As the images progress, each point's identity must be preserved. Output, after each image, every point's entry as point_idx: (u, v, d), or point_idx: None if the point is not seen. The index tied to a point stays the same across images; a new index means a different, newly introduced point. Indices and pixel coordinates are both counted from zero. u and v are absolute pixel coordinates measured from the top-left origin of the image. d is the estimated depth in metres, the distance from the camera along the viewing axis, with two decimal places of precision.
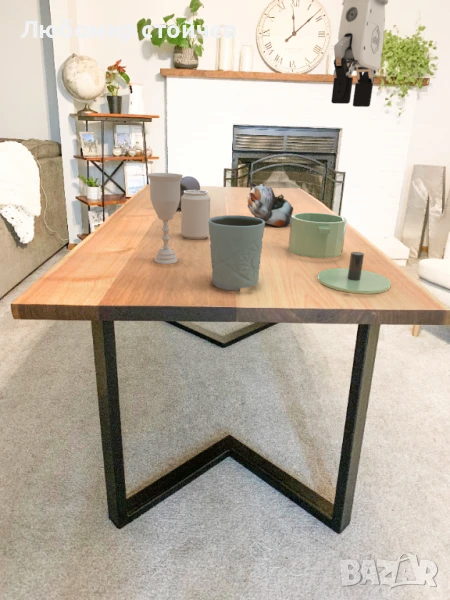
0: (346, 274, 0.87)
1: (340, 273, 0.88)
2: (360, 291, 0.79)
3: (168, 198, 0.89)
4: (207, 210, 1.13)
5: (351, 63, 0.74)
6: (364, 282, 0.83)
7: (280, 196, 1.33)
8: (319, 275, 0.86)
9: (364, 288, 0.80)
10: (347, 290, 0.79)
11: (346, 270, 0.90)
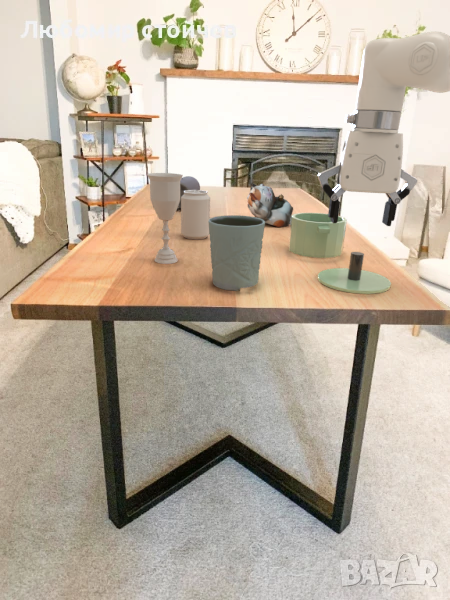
0: (346, 274, 0.87)
1: (340, 273, 0.88)
2: (360, 291, 0.79)
3: (168, 198, 0.89)
4: (207, 210, 1.13)
5: (338, 189, 0.78)
6: (364, 282, 0.83)
7: (280, 196, 1.33)
8: (319, 275, 0.86)
9: (364, 288, 0.80)
10: (347, 290, 0.79)
11: (346, 270, 0.90)
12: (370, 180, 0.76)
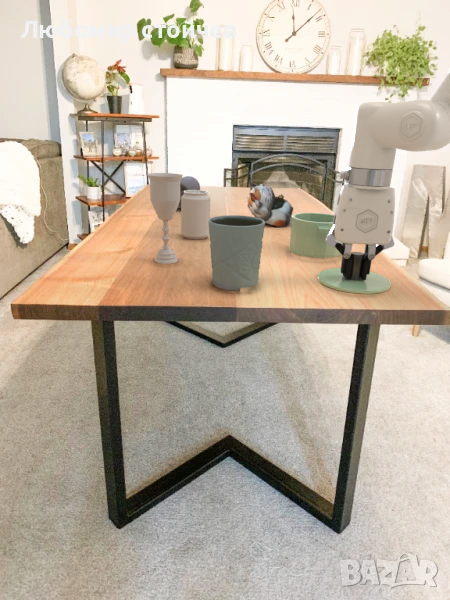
0: None
1: (340, 273, 0.88)
2: (360, 291, 0.79)
3: (168, 198, 0.89)
4: (207, 210, 1.13)
5: (345, 247, 0.82)
6: (364, 282, 0.83)
7: (280, 196, 1.33)
8: (319, 275, 0.86)
9: (364, 288, 0.80)
10: (347, 290, 0.79)
11: None
12: (364, 233, 0.79)
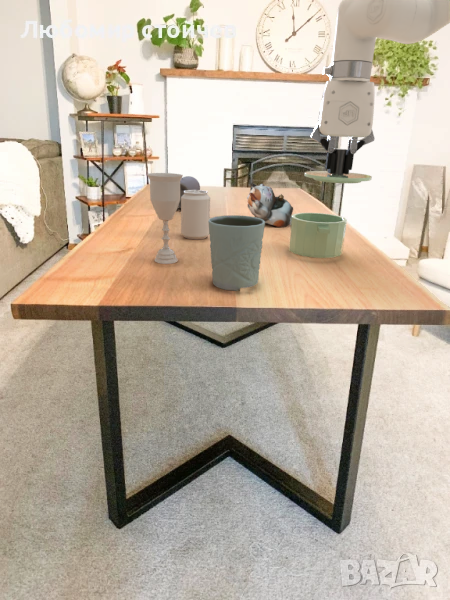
0: None
1: (325, 172, 0.94)
2: (342, 178, 0.85)
3: (168, 198, 0.89)
4: (207, 210, 1.13)
5: (329, 141, 0.88)
6: (347, 175, 0.90)
7: (280, 196, 1.33)
8: (306, 172, 0.93)
9: (346, 177, 0.87)
10: (331, 178, 0.86)
11: None
12: (346, 125, 0.86)
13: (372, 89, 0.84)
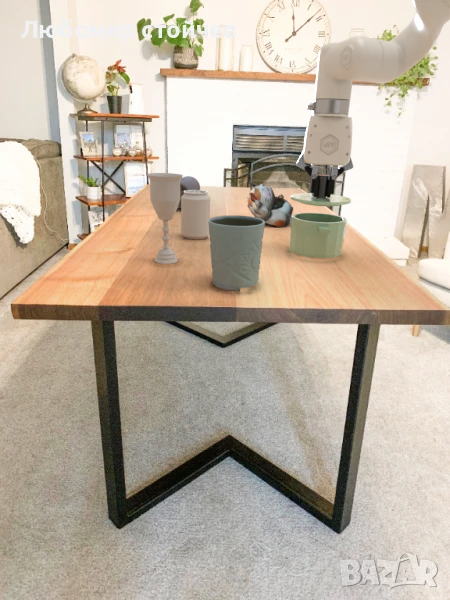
0: None
1: (310, 195, 1.04)
2: (324, 202, 0.96)
3: (168, 198, 0.89)
4: (207, 210, 1.13)
5: (312, 169, 0.98)
6: (328, 199, 1.00)
7: (280, 196, 1.33)
8: (292, 195, 1.03)
9: (327, 201, 0.97)
10: (313, 202, 0.96)
11: None
12: (327, 155, 0.96)
13: (350, 123, 0.94)
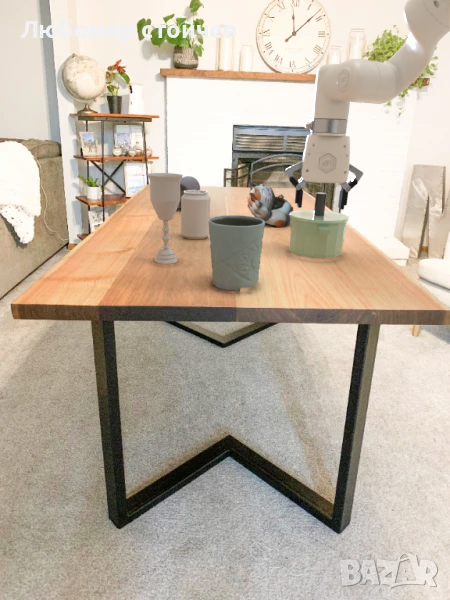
0: (313, 212, 1.05)
1: (308, 212, 1.06)
2: (322, 221, 0.97)
3: (168, 198, 0.89)
4: (207, 210, 1.13)
5: (301, 180, 0.99)
6: (327, 216, 1.01)
7: (280, 196, 1.33)
8: (290, 213, 1.04)
9: (325, 219, 0.98)
10: (311, 220, 0.97)
11: (314, 211, 1.08)
12: (325, 173, 0.97)
13: (347, 142, 0.95)
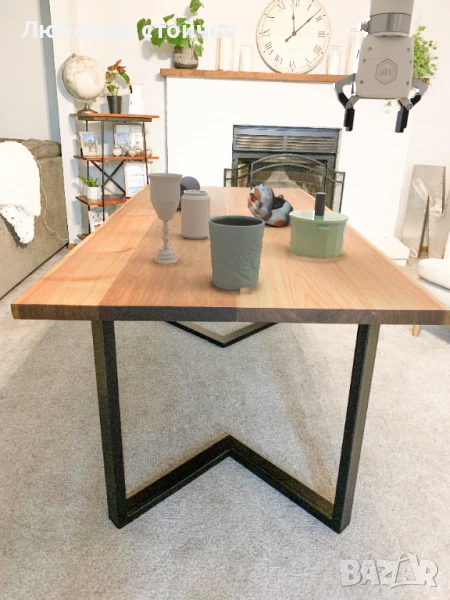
0: (313, 212, 1.05)
1: (308, 212, 1.06)
2: (322, 221, 0.97)
3: (168, 198, 0.89)
4: (207, 210, 1.13)
5: (353, 96, 0.82)
6: (327, 216, 1.01)
7: (280, 196, 1.33)
8: (290, 213, 1.04)
9: (325, 219, 0.98)
10: (311, 220, 0.97)
11: (314, 211, 1.08)
12: (383, 84, 0.80)
13: (412, 45, 0.78)
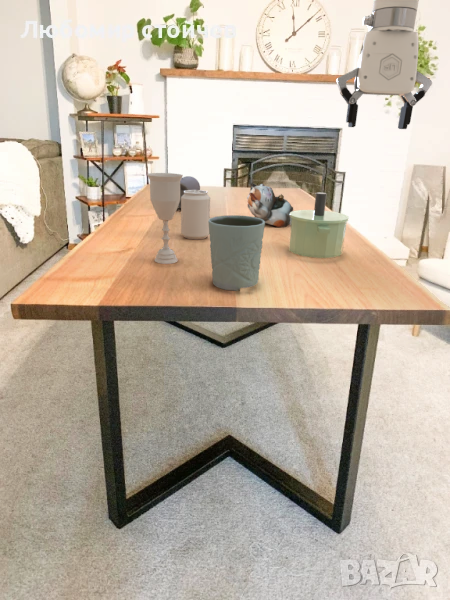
0: (313, 212, 1.05)
1: (308, 212, 1.06)
2: (322, 221, 0.97)
3: (168, 198, 0.89)
4: (207, 210, 1.13)
5: (356, 91, 0.82)
6: (327, 216, 1.01)
7: (280, 196, 1.33)
8: (290, 213, 1.04)
9: (325, 219, 0.98)
10: (311, 220, 0.97)
11: (314, 211, 1.08)
12: (387, 80, 0.79)
13: (416, 40, 0.77)
